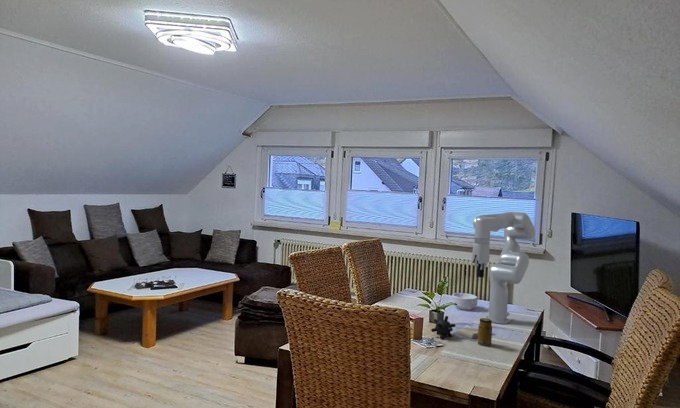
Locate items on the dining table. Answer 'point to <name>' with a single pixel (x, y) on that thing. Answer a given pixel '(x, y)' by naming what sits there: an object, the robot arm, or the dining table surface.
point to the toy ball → (443, 327)
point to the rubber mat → (467, 337)
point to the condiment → (485, 332)
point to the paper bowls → (464, 301)
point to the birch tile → (468, 332)
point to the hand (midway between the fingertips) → (480, 276)
